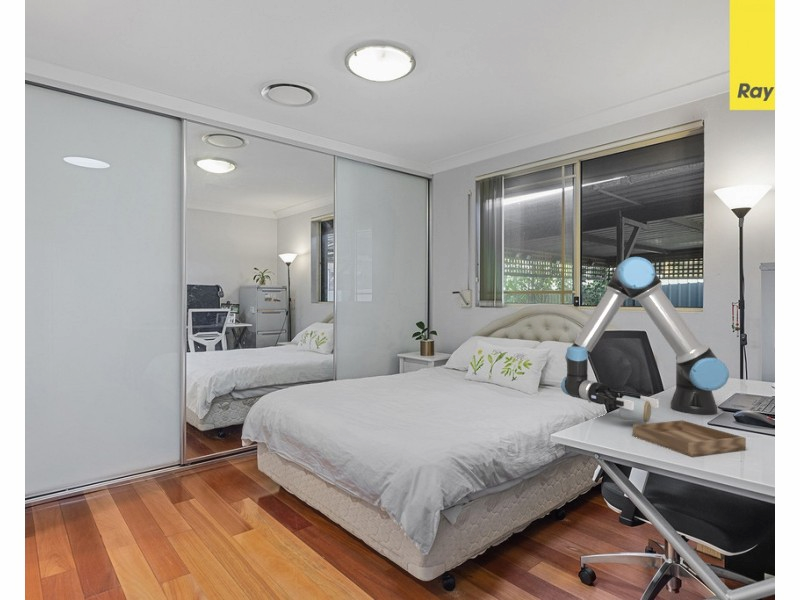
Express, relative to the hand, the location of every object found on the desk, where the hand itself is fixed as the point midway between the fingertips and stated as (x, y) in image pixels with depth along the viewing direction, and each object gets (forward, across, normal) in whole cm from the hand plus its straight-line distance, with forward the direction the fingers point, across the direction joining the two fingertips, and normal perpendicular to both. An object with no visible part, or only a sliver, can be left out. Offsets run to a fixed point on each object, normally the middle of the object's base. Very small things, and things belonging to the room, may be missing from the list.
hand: (645, 404), depth 149 cm
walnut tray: (+14, -1, -8) cm, 16 cm away
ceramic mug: (-5, -1, -6) cm, 8 cm away
